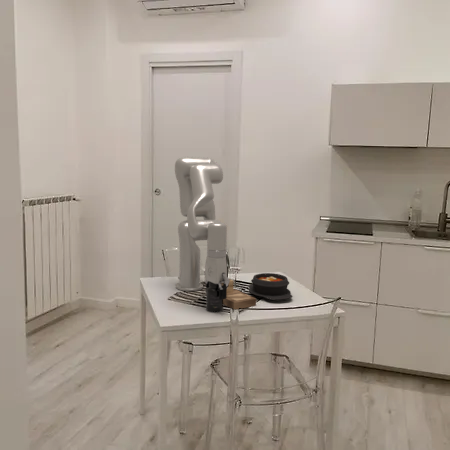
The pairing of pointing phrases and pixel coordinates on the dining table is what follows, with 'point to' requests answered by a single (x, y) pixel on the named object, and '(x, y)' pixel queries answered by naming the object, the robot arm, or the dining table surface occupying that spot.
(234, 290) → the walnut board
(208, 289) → the supplement bottle
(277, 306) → the dining table surface
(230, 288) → the oak cube
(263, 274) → the casserole
